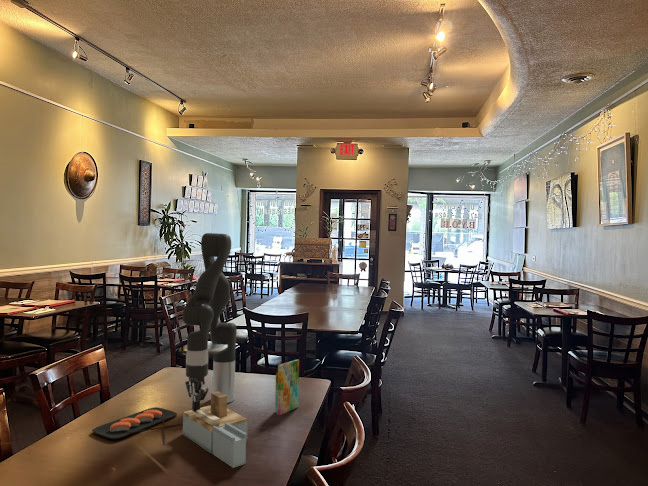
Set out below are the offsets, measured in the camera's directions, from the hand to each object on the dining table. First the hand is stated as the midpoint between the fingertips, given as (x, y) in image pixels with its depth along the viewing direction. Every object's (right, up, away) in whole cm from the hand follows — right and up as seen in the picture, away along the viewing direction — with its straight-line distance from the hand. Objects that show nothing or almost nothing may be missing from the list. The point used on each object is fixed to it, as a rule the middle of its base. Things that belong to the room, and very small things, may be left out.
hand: (196, 411), depth 165 cm
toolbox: (+11, -9, -5) cm, 15 cm away
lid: (+7, -2, 0) cm, 7 cm away
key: (+5, -1, -6) cm, 8 cm away
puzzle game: (+30, -10, +28) cm, 42 cm away
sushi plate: (-18, -10, +6) cm, 21 cm away
